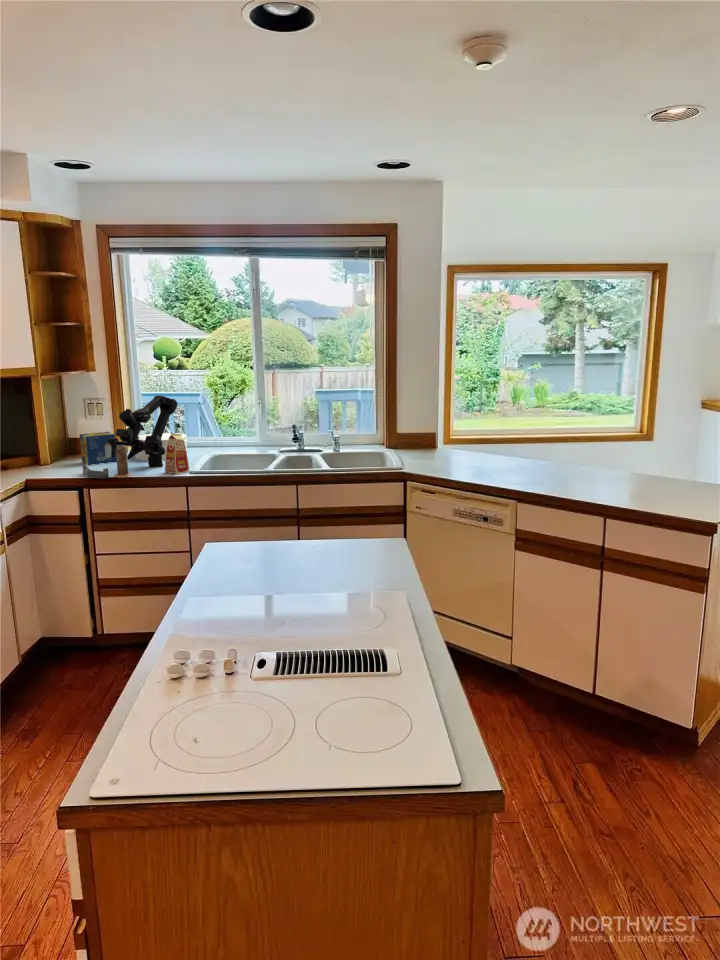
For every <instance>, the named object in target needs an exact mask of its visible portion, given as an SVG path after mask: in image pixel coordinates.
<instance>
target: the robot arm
mask: <svg viewBox="0 0 720 960" xmlns="http://www.w3.org/2000/svg"><path fill="white" fill-rule="evenodd" d="M158 408H159V411H160V412H159V415H158V417H157V421H156V422H155V426H154V428H153V429H152V433H151V434H152V435H151V436H147V437H146V439H145V441H144V442H143V441H142V440H139V437H138V436H140V435H139V434H140V433H141V431H145V427H144V425H143V424H147V423H148V422H149V421H150V419H151V418H152V417H151V416H152V414H153V413H154V412H156V410H157V409H158ZM177 408H178V402H177V400H176V399H175V398H169V397H167V396H164V395H155V396H153V398H152V399H151V400H150V401H149V402H148V403H147V404H146V405H145V406H143V407H142V408H138V409H136V410H133V411H132V410H131V409H130V408H126V409H125V410H123V411H121V413H119V415H118V418H119V419H120V421H121V422H122V423H123V424H124V426H126V427H128V428H126V429H124V428H116V429H115V430H116V431H115V433H114V434H115V438H109V440H108V443H109V445H110V446H111V449H112V450H111V458H114V457H115V456H116V449H117V445H125V447H130V450H129V452H128V453H127V461H129V460H131V459H132V458H134V456H135V457H136V454H138V453H139V452H142V451H145V453H146V455H149V457H148V461H147V462H148V465H147V466H148V467H149V468H159V467H160V468H161V467H163V466H164V463H163V461H162V455H164V454H165V449H164V448H163V447H162V440H161V437H162V435H163V433H165V429H166V426H167V424H168V422H169V419H170V416H171V415H172V414H174V413H175V412H176V409H177ZM117 437H119V439H120V440H121V441H120V440H119V439H118V438H117Z"/></svg>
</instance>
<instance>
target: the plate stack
mask: <svg viewBox="0 0 720 960" xmlns="http://www.w3.org/2000/svg"><path fill="white" fill-rule="evenodd" d="M171 433H172V432H163V435H162V437H161V440H162V447H163V448H164V449H165V454H164V455H162V460H164V461H165V460H166V451H167V445H168V439H169V437H170V436H171ZM174 433H175V434H180V433H177V432H174ZM181 434H182V435H181V437H182V438H183V439H184V442H185V446H186V451H187V454H188V455H189V453H188V444H187V441H188V440H187V434H184V433H181ZM151 435H152V433H149V434H148V433H147V434H141V435H138V437H139V440H142V441H143V442H144V441H145V439H146V437H147V436H151ZM148 457H149V455H146V453H145V451H142V452H139V453H138V454H136V455H135V459H136V458H137V459H136V460H139V459H142V460H141V461H145V460H148Z"/></svg>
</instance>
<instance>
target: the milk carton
mask: <svg viewBox="0 0 720 960" xmlns="http://www.w3.org/2000/svg"><path fill="white" fill-rule="evenodd" d="M170 433H171V436H170V437H169V439H168V445H167V451H166V460H164V462H165V463H164V464H165V465H164V473H166V472H168V473H167V474H171V473H175V474H174V475H181V474H180V473H182V474H185V473H188V471H189V472H190V464H189V457H188V456H187V453H188V450H187V451H186V448H187V447H186V446H185V442H184V439H183V438H182V437H181V435H182V434H183V433H179V434H175V433H176V432H170Z"/></svg>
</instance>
